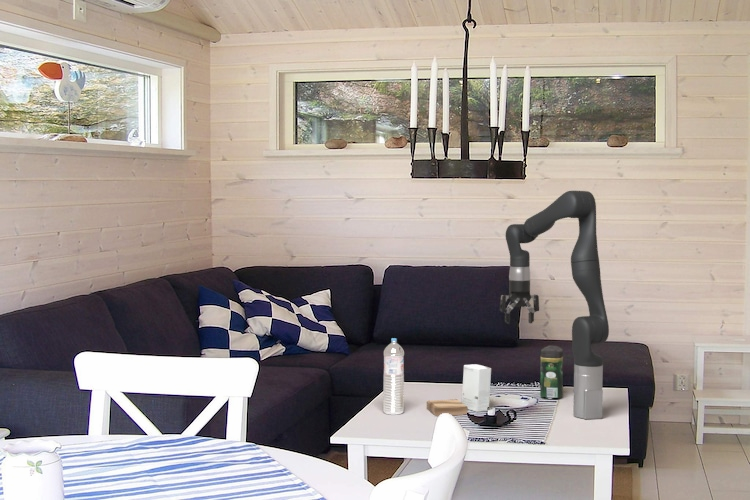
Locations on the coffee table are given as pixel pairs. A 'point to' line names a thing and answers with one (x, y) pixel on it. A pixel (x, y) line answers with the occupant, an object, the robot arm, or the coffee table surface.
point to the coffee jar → (551, 372)
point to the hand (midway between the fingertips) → (519, 323)
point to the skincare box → (476, 387)
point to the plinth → (446, 407)
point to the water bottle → (393, 379)
